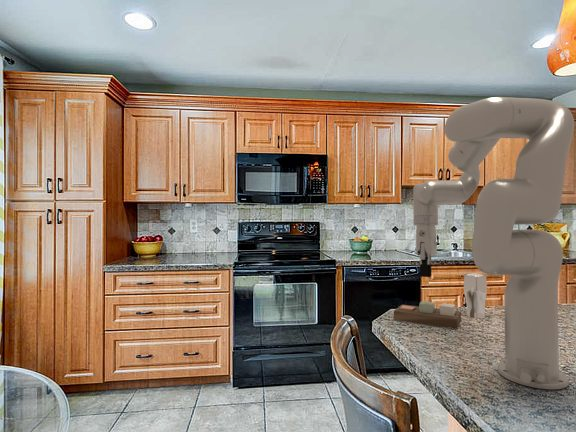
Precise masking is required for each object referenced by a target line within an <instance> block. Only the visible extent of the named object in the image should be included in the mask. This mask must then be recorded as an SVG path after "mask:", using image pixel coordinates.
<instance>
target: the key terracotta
mask: <svg viewBox="0 0 576 432" xmlns="http://www.w3.org/2000/svg"><path fill="white" fill-rule="evenodd" d="M402 305H403V306H402V307H401V308H400V310H407V311H414V310H415V307H413V306H414V305H409V306H405V305H406V304H402Z"/></svg>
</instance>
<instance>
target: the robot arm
mask: <svg viewBox="0 0 576 432" xmlns="http://www.w3.org/2000/svg"><path fill="white" fill-rule="evenodd" d="M574 131H575V119H574V115H573V114H572V112H571V110H570V108H568V107H567V106H566V105H564V104H563V103H561V102H558V101H554V100H551V99H544V98H535V97H534V98H532V97H509V96H508V97H507V96H494V97H493V96H491V97H488V98H487V97H485V98H483V99H480V100H477V101H474V102H471V103H468V104H464V105H461V106H459V107H458V108H456V109H455V110H453V111H452V112H451V113H450V114H449V116H448V117H447V119H446V121H445V124H444V135H445V136H446V139H448V141H451V142H455V143H454V144H453V145H452V147H451V148H450V150H449V151H448V155H447V158H448V161H449V163H450V164H451V165H452V166H453V167H454V168H455V169H457V170H459V171H461V172H462V174H461V175H460V176H459V177H458V179H457V180H449V179H448V180H447V179H446V180H445V179H443V180H441V179H440V180H435V179H433V180H427V181H424V182H422V183H417V184H415V185H414V186H413V190H412V195H413V197H412V198H413V199H412V202H413V204H412V207H413V208H412V209H413V211H412V213H413V221H412V222H413V224H412V225H413V226H416V230H415V253H416V255H417V256H419V262H420V263H419V264H420V265H419V271H420V272H419V274H420V275H419V276H420V277H421V278H431V277H432V257H433V256H435V255H437V253H438V248H437V247H438V246H437V230H436V228H437V227H436V226H439V213H438V212H439V211H438V210H439V206H443V205H449V206H450V205H452V206H453V205H456V206H457V205H461V204H464V203H465V202H466V201H467V200H469V198H470V197H471V196H472V195H473V194H474V193H475V191H476V190H477V188H479V184H480V178H481V170H480V167H479V166H480V165H481V163H482V162H483V161H484V159H486V158H487V156H488V154H489V153H490V152H491V151H492V150H493V149H494V147H495V146H496V145H497V144H498V142H499V141H500V139H526V140H528V141H527V142H526V143H525V145H524V146H523V147H522V149H521V150H520V152H519V153H518V155H517V159H516V163H515V172H514V175H513V176H514V177H513V178H498V179H494V180H492V181H489V182H487V184H485V185H484V187H482V189H481V190H480V192H479V194H478V196H477V199H476V200H477V201H476V206H475V211H474V223H473V233H472V243H471V244H472V247H471V253H472V259H473V262H474V264H475V266H476V268H477V269H478V270H479V271H480V272H481V273H482V274H485V275H490V276H510V277H508V280H507V282H506V285H505V289H504V303H503V304H504V346H505V347H504V349H505V350H504V351H505V352H504V354H505V355H504V357H505V358H504V359H505V360H502V361H500V362H499V363H498V364H497V372H498V373H499V374H500V376H502V377H504V378H505V379H506V380H509V381H511V382H514V383H515V384H519V385H522V386H526V387H531V388H535V389H542V390H551V391H552V390H560V389H565V388H567V387H568V386H569V383H570V379H569V377H568V375H567V374H566V373H565V372H564V371H561V370H560V364H559V363H560V362H559V361H560V356H559V315H558V314H559V312H558V311H559V309H558V308H559V291H558V290H559V280H560V274H561V269H562V266H563V265H562V264H563V259H564V251H563V247H562V244H561V243H560V241H559V239H558V238H557V237H556V236H555V235H554V234H552V233H549V232H547V231H544V230H540V229H532V228H531V229H514V226H515V225H540V224H546V223H549V222H552V221H554V220H555V219H556V218H557V217H558V215H559V212H560V209H561V204H562V198H563V190H564V183H565V175H566V168H567V160H568V159H567V158H568V154H569V150H570V148H571V147H570V146H571V144H572V140H573V137H574Z"/></svg>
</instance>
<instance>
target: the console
mask: <svg viewBox="0 0 576 432" xmlns="http://www.w3.org/2000/svg"><path fill="white" fill-rule="evenodd" d="M403 305H405V306H410V305H408V304H401V305H399V306H398V307H397V308H395V309H394V310H393V321H397V322H403V323H404V322H406V323H413V324H418V325H427V326H433V327H441V328H446V329H447V328H448V329H454V330H458V328H459V326H460V324H461V322H462V311H459V310H455V316H448V315H440V308H435V312H434V313H433V314H432V313H424V312H419V305H418V306H417V305H412V306H413V307H415V310H414V311H407V310H400V308H401V307H402V306H403Z"/></svg>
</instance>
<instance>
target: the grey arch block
mask: <svg viewBox="0 0 576 432" xmlns="http://www.w3.org/2000/svg"><path fill="white" fill-rule="evenodd" d="M463 277H464V279H463V291H464V292H463V293H464V298H465V302H466V312H465V313H466V314H465V315H466V317H468V318H473V319H485V318H486V314H485V313H486V312H485V307H486V305H485V304H486V301H487V299H486V298H487V292H488V284H487V274H484V273H474V272H473V273H472V272H471V273H470V272H469V273H464V276H463Z"/></svg>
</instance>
